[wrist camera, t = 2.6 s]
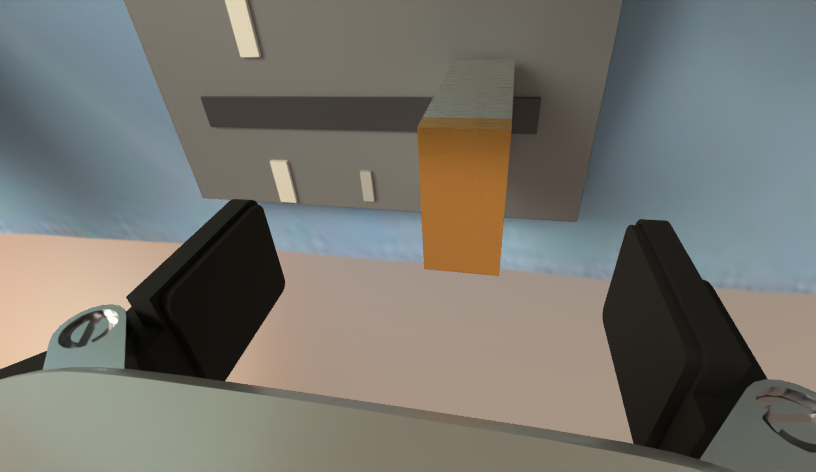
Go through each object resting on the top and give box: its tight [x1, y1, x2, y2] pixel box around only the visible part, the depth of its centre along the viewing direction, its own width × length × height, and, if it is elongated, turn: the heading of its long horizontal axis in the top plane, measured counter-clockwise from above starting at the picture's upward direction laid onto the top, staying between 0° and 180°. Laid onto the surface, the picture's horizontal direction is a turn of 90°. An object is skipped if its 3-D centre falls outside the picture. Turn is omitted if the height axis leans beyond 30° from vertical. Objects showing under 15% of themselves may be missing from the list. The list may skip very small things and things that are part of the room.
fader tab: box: [417, 59, 515, 276], centre depth 15 cm, size 2×5×8 cm, turn 3°
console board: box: [124, 0, 623, 222], centre depth 21 cm, size 22×11×2 cm, turn 93°
